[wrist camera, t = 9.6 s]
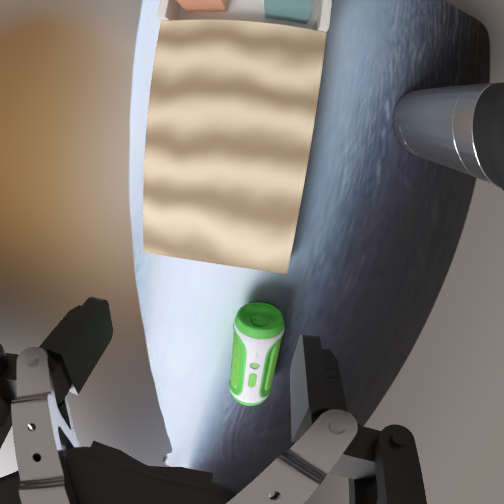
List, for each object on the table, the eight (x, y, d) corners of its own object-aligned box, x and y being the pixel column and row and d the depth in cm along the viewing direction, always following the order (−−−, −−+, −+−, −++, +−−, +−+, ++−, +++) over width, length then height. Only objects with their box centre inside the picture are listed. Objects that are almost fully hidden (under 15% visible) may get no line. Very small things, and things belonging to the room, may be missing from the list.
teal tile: (265, 17, 27) (268, 1, 26) (306, 24, 27) (308, 8, 26) (263, 3, 23) (267, -15, 22) (311, 10, 23) (313, -7, 22)
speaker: (237, 296, 44) (231, 328, 37) (286, 301, 44) (287, 334, 37) (231, 374, 52) (226, 405, 45) (270, 378, 51) (269, 410, 45)
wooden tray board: (170, 28, 29) (161, 21, 25) (321, 40, 28) (326, 32, 25) (153, 242, 41) (143, 252, 38) (285, 261, 41) (286, 273, 38)
